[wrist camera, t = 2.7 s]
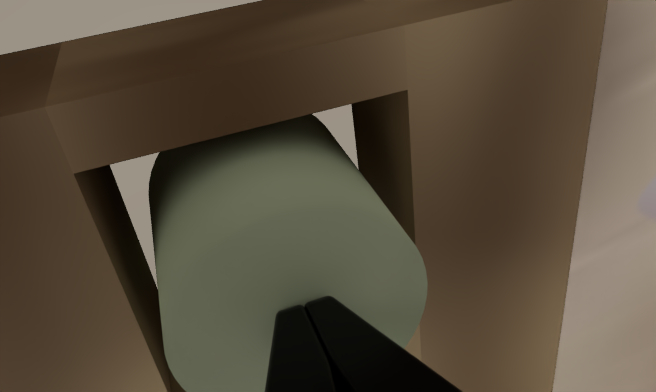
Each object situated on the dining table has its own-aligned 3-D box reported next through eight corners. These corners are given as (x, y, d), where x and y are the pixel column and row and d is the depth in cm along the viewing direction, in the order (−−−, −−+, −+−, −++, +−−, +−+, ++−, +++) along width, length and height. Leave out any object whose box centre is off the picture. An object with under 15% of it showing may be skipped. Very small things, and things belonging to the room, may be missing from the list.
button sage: (331, 75, 11) (423, 172, 8) (352, 239, 13) (430, 368, 10) (120, 126, 10) (123, 257, 7) (179, 291, 12) (202, 449, 9)
